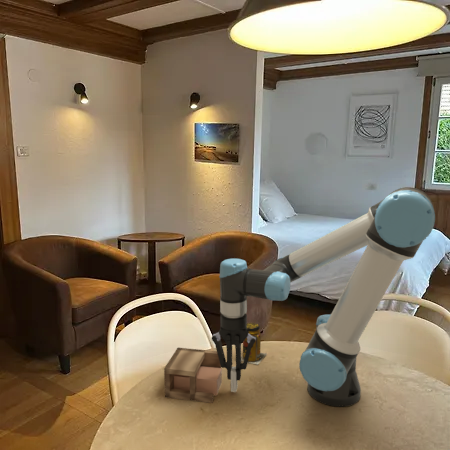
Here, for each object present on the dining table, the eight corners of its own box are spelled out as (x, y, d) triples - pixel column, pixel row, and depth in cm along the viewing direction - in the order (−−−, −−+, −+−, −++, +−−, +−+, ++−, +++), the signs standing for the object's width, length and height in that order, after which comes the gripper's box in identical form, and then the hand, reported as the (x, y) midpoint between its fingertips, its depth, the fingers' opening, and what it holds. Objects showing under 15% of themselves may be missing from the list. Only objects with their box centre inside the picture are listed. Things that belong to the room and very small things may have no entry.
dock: (221, 378, 130) (221, 351, 129) (212, 402, 118) (212, 373, 116) (178, 373, 133) (177, 347, 131) (164, 397, 120) (164, 368, 119)
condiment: (237, 360, 142) (238, 327, 140) (248, 349, 149) (248, 318, 147) (257, 365, 138) (258, 331, 136) (267, 354, 146) (268, 322, 144)
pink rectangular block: (221, 383, 128) (221, 368, 127) (216, 396, 121) (216, 380, 120) (180, 378, 131) (180, 364, 130) (173, 391, 124) (173, 375, 123)
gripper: (257, 309, 121) (257, 384, 125) (213, 307, 124) (215, 380, 128) (255, 319, 114) (255, 398, 118) (208, 316, 116) (209, 394, 120)
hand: (234, 389), depth 123 cm, fingers closed
